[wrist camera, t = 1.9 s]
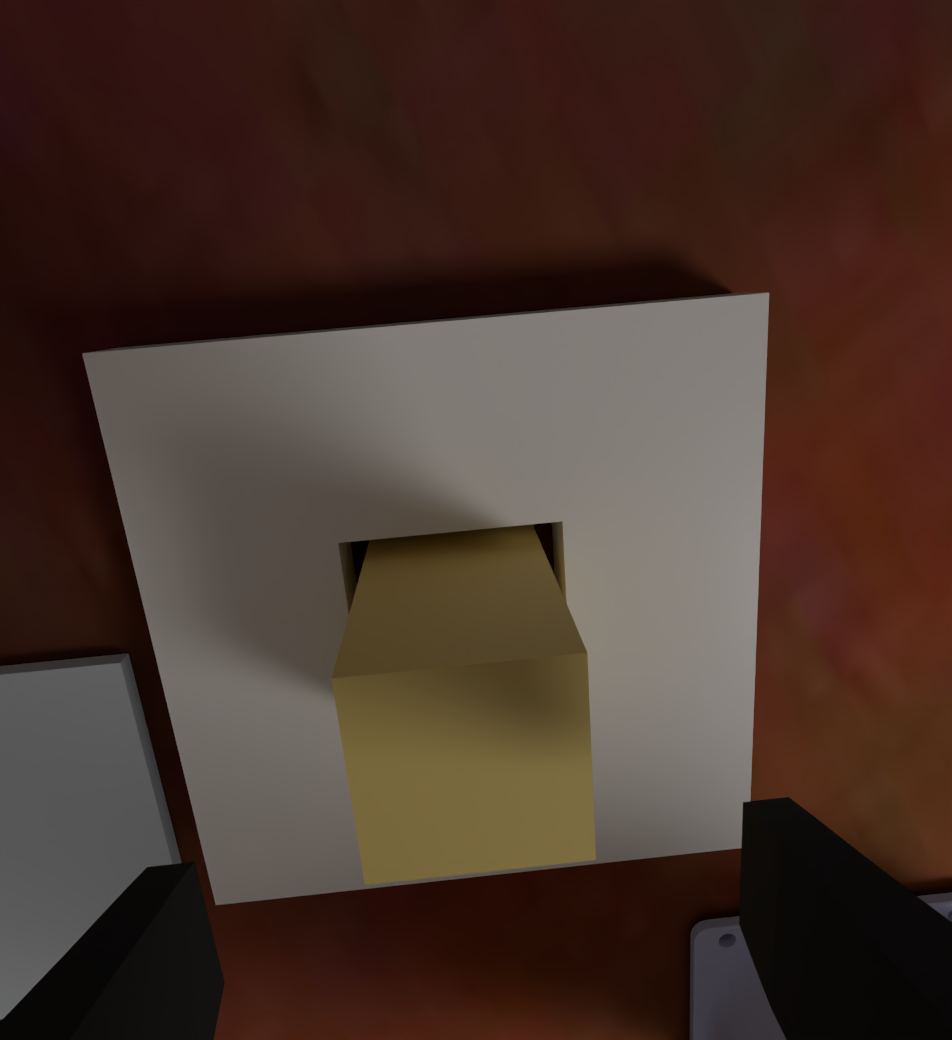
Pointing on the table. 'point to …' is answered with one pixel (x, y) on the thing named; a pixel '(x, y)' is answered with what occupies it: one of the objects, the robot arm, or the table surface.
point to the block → (464, 709)
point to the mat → (71, 807)
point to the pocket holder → (440, 509)
